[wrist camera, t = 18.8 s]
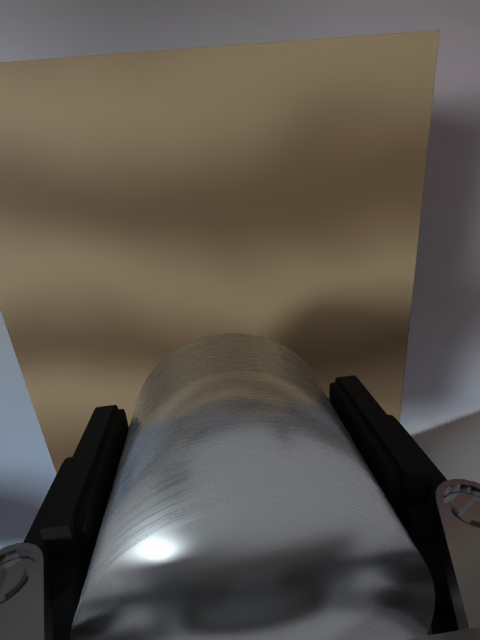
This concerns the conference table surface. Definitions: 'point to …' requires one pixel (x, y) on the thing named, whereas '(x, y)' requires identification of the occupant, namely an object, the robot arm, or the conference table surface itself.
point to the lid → (210, 212)
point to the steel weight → (247, 513)
